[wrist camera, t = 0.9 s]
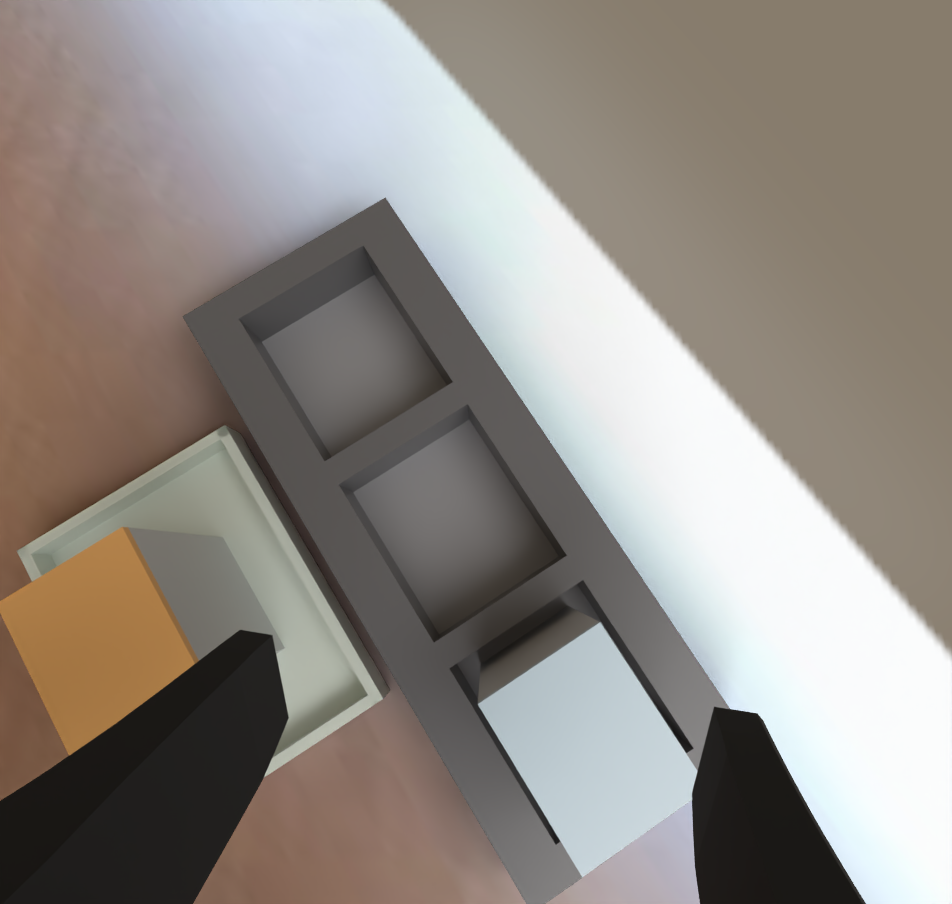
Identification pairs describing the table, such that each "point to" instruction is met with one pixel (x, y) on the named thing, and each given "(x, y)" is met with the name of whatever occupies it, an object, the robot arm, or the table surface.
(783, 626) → the table surface
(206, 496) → the tray
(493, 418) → the grey slotted rack
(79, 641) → the plug
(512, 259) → the table surface
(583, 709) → the twin plug
